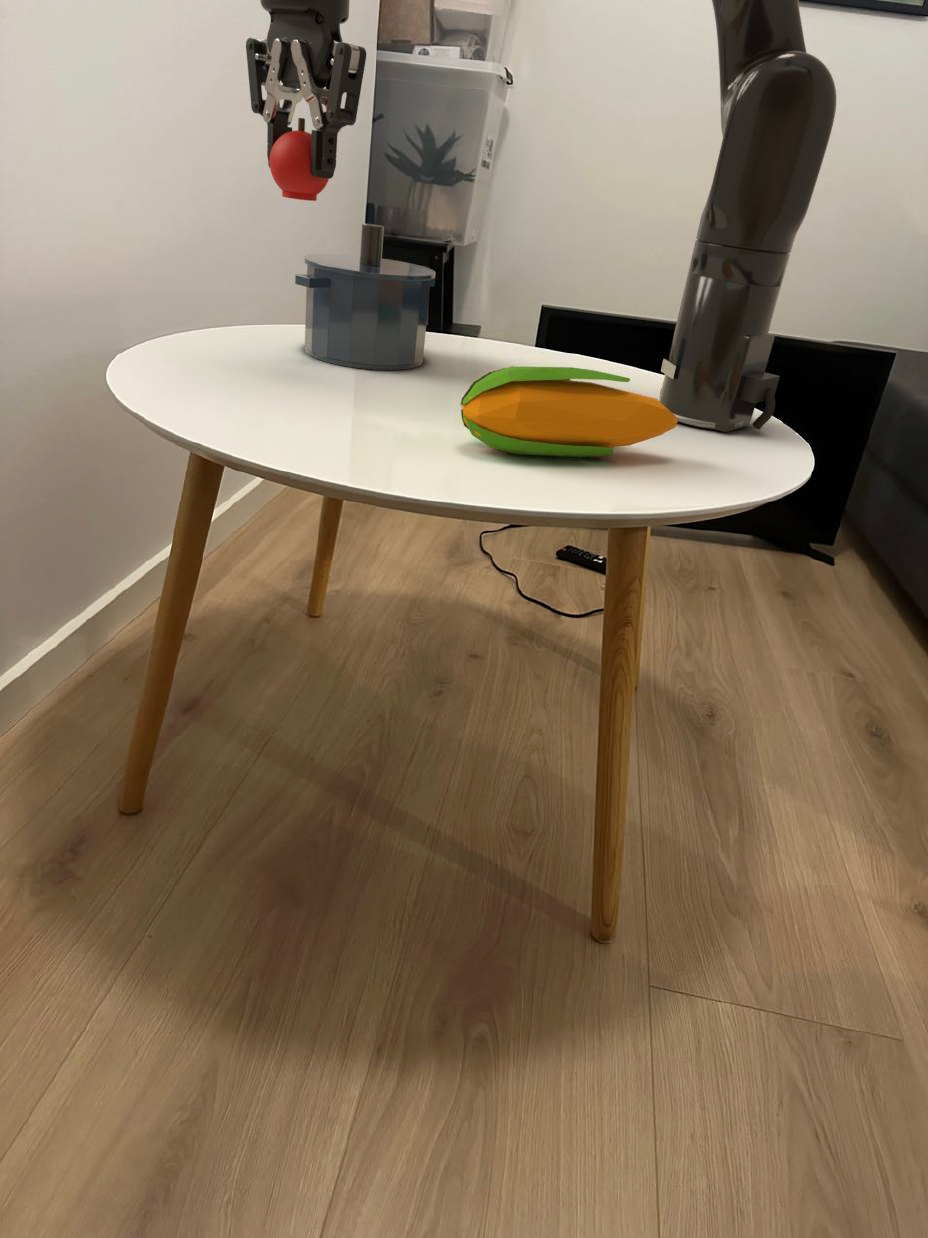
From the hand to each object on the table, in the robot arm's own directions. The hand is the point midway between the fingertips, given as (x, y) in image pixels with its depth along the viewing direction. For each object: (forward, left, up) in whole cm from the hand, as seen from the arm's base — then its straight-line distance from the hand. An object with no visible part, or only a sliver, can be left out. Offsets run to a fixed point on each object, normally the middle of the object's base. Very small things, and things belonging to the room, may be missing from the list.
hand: (300, 172), depth 80 cm
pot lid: (+4, -13, -9) cm, 17 cm away
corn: (-31, -5, -19) cm, 37 cm away
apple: (0, 0, -2) cm, 2 cm away
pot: (+4, -13, -19) cm, 23 cm away
